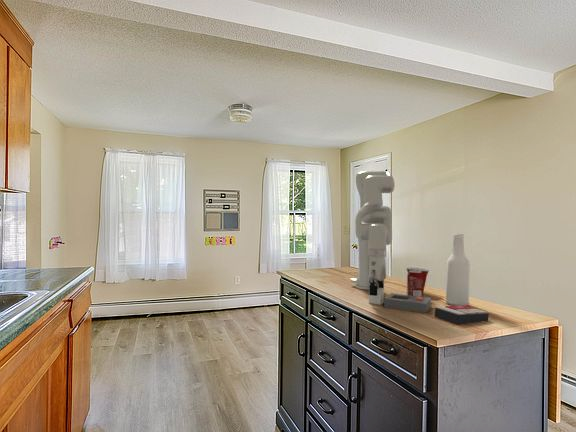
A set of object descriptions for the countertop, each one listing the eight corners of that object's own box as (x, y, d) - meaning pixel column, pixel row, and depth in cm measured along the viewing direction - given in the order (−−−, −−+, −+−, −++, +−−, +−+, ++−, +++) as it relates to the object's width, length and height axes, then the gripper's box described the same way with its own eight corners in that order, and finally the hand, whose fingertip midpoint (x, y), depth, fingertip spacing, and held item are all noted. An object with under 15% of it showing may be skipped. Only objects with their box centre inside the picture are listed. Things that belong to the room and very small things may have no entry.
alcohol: (442, 301, 158) (444, 233, 158) (463, 302, 157) (464, 233, 157) (450, 306, 149) (452, 234, 149) (472, 307, 148) (473, 234, 148)
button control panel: (489, 311, 129) (458, 313, 123) (488, 323, 129) (458, 325, 123) (463, 304, 139) (434, 305, 133) (463, 315, 139) (433, 317, 133)
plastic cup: (433, 293, 174) (434, 268, 174) (420, 295, 168) (420, 270, 168) (414, 289, 183) (415, 265, 183) (400, 291, 177) (401, 267, 177)
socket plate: (384, 307, 146) (384, 296, 146) (391, 301, 156) (391, 291, 156) (425, 313, 138) (426, 301, 138) (430, 306, 148) (430, 296, 148)
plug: (368, 303, 152) (369, 283, 152) (372, 300, 157) (372, 281, 157) (380, 304, 150) (380, 284, 150) (383, 302, 154) (384, 282, 154)
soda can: (423, 299, 161) (424, 272, 161) (407, 298, 162) (408, 272, 162) (421, 296, 167) (421, 270, 167) (406, 295, 169) (406, 269, 169)
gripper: (380, 255, 144) (379, 297, 143) (391, 252, 159) (390, 291, 158) (362, 253, 147) (361, 295, 147) (374, 251, 162) (373, 289, 162)
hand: (376, 293), depth 153 cm, fingers open, 9 cm apart
